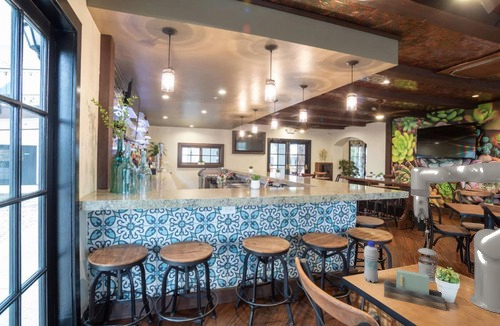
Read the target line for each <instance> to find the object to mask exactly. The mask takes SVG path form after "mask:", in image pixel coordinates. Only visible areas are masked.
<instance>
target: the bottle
mask: <svg viewBox="0 0 500 326" xmlns="http://www.w3.org/2000/svg"><path fill="white" fill-rule="evenodd" d="M363 256H364V271H363V276H364V277H363V278H364V279H365V281H367V282H369V283H370V281H371V283H372V284H373V283H377V281H378V279H379V271H378V267H379V266H378V263H379V262H378V259H379V249H378V247H376V243H375V241H373V240H372V241H371V240H369V241H367V245H366V246H364V249H363Z"/></svg>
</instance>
